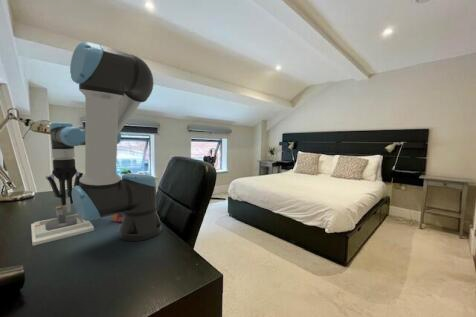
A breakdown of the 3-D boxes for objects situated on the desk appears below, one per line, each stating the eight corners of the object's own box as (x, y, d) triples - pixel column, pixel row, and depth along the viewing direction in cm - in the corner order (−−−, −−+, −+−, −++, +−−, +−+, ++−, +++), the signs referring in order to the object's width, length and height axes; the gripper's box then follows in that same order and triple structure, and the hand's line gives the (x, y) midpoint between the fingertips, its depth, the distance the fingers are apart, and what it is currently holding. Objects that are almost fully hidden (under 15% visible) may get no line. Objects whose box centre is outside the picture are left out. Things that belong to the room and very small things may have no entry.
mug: (112, 225, 92) (111, 201, 91) (108, 218, 99) (106, 196, 98) (141, 218, 100) (140, 196, 99) (135, 213, 107) (134, 192, 106)
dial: (79, 225, 88) (78, 212, 87) (46, 232, 81) (45, 218, 80) (73, 215, 99) (72, 204, 98) (44, 221, 92) (43, 209, 91)
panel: (94, 230, 87) (93, 223, 86) (32, 245, 74) (31, 237, 74) (83, 216, 102) (83, 210, 102) (31, 226, 90) (30, 220, 89)
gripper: (77, 157, 100) (81, 206, 103) (41, 159, 90) (45, 214, 92) (85, 158, 96) (88, 209, 99) (47, 160, 85) (52, 217, 88)
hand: (67, 211), depth 95 cm, fingers closed
